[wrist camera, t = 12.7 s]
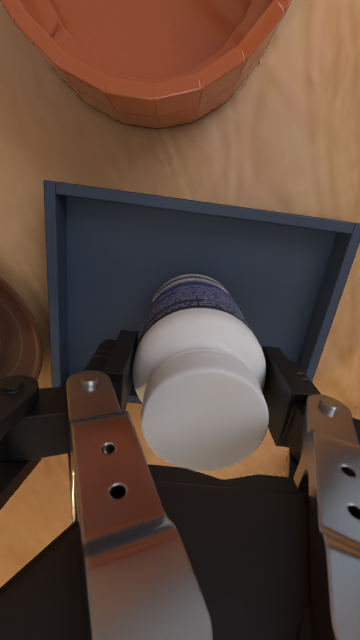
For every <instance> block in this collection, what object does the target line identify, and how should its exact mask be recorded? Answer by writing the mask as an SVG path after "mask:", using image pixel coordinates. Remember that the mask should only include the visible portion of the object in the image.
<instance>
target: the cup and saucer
mask: <svg viewBox="0 0 360 640" xmlns="http://www.w3.org/2000/svg"><path fill="white" fill-rule="evenodd" d="M41 366H42V341H41V337H40V333H39V330H38V327H37V324H36V322H35V319H34V317H33V315H32V313H31V312H30V310H29V308H28V307H27V305H26V304H25V302H24V301H23V299H22V298H21V297H20V296H19V294H18V293H17V292H16V291H15V290H14V289H13V288H12V287H11V286H10V285H9V284H8V283H7V282H6V281H5V280H4V279H3V278H2V277H0V379H1V378H4V377H7V376H13V375H26V376H30V377H33V378H35V379H36V380H37V379H38V376H39V374H40V370H41Z"/></svg>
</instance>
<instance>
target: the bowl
mask: <svg viewBox="0 0 360 640" xmlns="http://www.w3.org/2000/svg"><path fill="white" fill-rule="evenodd" d="M1 2H2V4H3V6H4V7H5V9H6V11H7V12H8V14H9V16H10V18H11V19H12V21H13V22H14V23H15V25H16V26H17V27H18V28H19V30H20V31H21V32H22V33H23V34H24V35H25V36H26V38H27V39H28V40H29V41H30V42H31V43H32V44H33V46H34V47H35V48H36V49H37V50H38V51H39V52H40V54H41V55H42V56H43V57H44V58H45V59H46V60H47V62H48V63H49V64H50V65H51V66H52V67H53V68H54V70H55V71H56V72H57V73H58V74H59V75H60V76H61V77H62V78H63V79H64V80H65V81H66V82H67V83H68V84H69V85H70V86H71V87H72V88H73V89H74V90H75V91H76V92H77V93H78V94H79V96H80V97H81V98H82V99H83V100H84V101H85V102H86V103H87V104H89V105H90V106H92V107H94V108H96V109H98V110H100V111H101V112H103V113H105V114H107V115H109V116H111V117H113V118H114V119H116V120H118V121H120V122H122V123H123V122H124V123H126V124H132V125H139V126H146V127H152V128H165V127H169V126H174V125H178V124H183V123H187V122H192V121H195V120H198V119H199V118H201V117H203V116H204V115H206V114H207V113H209V112H210V111H212V110H213V109H215V108H217V107H218V106H220V105H221V104H223V103H224V102H226V101H227V100H229V98H231V96H232V95H233V94H234V93H235V92H236V90H237V89H238V88H239V87H240V86H241V84H242V83H243V82H244V81H245V80H246V78H247V77H248V76H249V75H250V73H251V72H252V71H253V70H254V69H255V67H256V66H257V64H258V63H259V61H260V59H261V58H262V56H263V54H264V52H265V50H266V48H267V46H268V45H269V43H270V41H271V39H272V37H273V35H274V33H275V32H276V30H277V28H278V26H279V24H280V22H281V20H282V19H283V17H284V15H285V13H286V11H287V9H288V7H289V5H290V3H291V0H1Z"/></svg>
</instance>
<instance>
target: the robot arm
mask: <svg viewBox="0 0 360 640" xmlns="http://www.w3.org/2000/svg"><path fill="white" fill-rule="evenodd" d="M137 346H138V331H129V330H121V331H120V334H119V336H118V338H117V340H112V339H107V340H105V341H104V342H102V343H100V344H99V346H98V348H97V349H96V351H95V353H94V354H93V356H92V358H91V359H90V361H89V363H88V364H87V366H86V368H85V370H84V371H81V372H77V373H75V374H73V375H71V376H70V377H69V378H68V379H67V381H66V385H65V386H61V387H54V388H43V389H39V386H38V381H37V380H36V379H35V378H33V377H30V376H26V375H13V376H7V377H4V378H1V379H0V510H1V508H2V507H3V506H4V505H5V504H6V502H7V501H8V500H9V499H10V497H11V496H12V495H13V494H14V492H15V491H16V490H17V489H18V488H19V486H20V485H21V484H22V483H23V481H24V480H25V479H26V478H27V476H28V475H29V474H30V473H31V472H32V470H33V469H34V468H35V467H36V465H37V464H38V463H39V461H40V460H41V458H43V457H49V456H55V455H60V454H66V453H68V465H69V479H70V494H71V513H72V524H71V525H70V526H69V527H68V528H67V529H66V530H64V531H63V532H62V533H61V534H60V535H59V536H58V537H57V538H56V539H54V540H53V541H52V542H51V543H50V544H49V545H48V546H47V547H45V548H44V549H43V550H42V551H41V552H40V553H39V554H38V555H37V556H35V557H34V558H33V559H32V560H31V561H30V562H29V563H28V564H26V565H25V566H24V567H23V568H22V569H21V570H20V571H19V572H17V573H16V574H15V575H14V576H13V577H12V578H11V579H10V580H9V581H7V582H6V583H5V584H4V585H3V586H2V587H1V588H0V640H360V420H358V419H355V418H352V415H351V412H350V410H349V409H348V408H347V407H346V406H345V405H344V404H343V403H341V402H339V401H338V400H336V399H334V398H332V397H329V396H326V395H321V393H320V392H319V391H318V390H317V388H316V387H315V386H314V384H313V383H312V382H311V380H309V378H308V377H307V375H306V374H305V373H304V371H303V370H302V369H301V368H300V366H299V365H297V364H296V363H294V362H293V361H291V360H289V359H287V357H286V356H285V355H284V353H283V352H282V351H281V349H280V348H277V347H268V346H261V348H262V351H263V354H264V357H265V362H266V379H265V384H264V388H263V391H262V394H263V396H264V399H265V401H266V404H267V408H268V413H269V423H268V428H269V430H270V433H271V435H272V438H273V440H274V443H275V445H276V446H283V447H289V449H290V450H289V452H288V455H287V459H286V470H285V477H279V476H268V475H253V476H246V477H240V478H233V479H227V480H222V479H218V478H215V477H212V476H209V475H205V474H202V473H199V472H196V471H193V470H190V469H187V468H181V467H170V466H159V465H148V464H147V462H146V459H145V456H144V453H143V451H142V448H141V445H140V442H139V440H138V437H137V434H136V431H135V429H134V426H133V423H132V420H131V417H130V415H129V413H128V411H125V409H126V405H127V401H128V398H129V394H130V390H131V387H132V383H133V377H132V368H133V361H134V356H135V352H136V349H137Z"/></svg>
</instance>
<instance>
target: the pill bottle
mask: <svg viewBox="0 0 360 640" xmlns="http://www.w3.org/2000/svg"><path fill="white" fill-rule="evenodd" d="M132 377H133V383H134V387H135V390H136V393H137V395H138V397H139V399H140V401H141V402H142V404H143V406H142V412H141V429H142V432H143V436H144V439H145V441H146V443H147V444H148V446H149V447H150V449H151V450H152V451H153V452H154V453H155V454H156V455H157V456H158V457H160V458H161V459H162V460H164V461H165V462H167V463H169V464H171V465H173V466H176V467H181V468H187V469H190V470H193V471H215V470H220V469H223V468H228V467H230V466H233V465H235V464H237V463H239V462H241V461H242V460H244V459H245V458H247V457H248V456H250V455H251V454H252V453H253V452H254V451H255V450H256V449H257V448H258V446H259V445H260V444H261V442H262V440H263V439H264V437H265V435H266V432H267V428H268V423H269V413H268V408H267V404H266V401H265V399H264V396H263V394H262V391H263V388H264V384H265V379H266V362H265V357H264V354H263V351H262V348H261V346H260V344H259V342H258V341H257V339H256V337H255V335H254V334H253V332H252V330H251V329H250V327H249V326H248V324H247V322H246V321H245V319H244V317H243V315H242V314H241V312H240V310H239V309H238V307H237V305H236V304H235V302H234V300H233V298H232V297H231V295H230V294H229V292H228V291H227V290H226V289H225V288H224V287H223V286H222V285H221V284H220V283H219V282H217V281H215V280H214V279H212V278H210V277H207V276H203V275H198V274H188V275H182V276H178V277H176V278H173V279H171V280H170V281H168V282H167V283H165V284H164V285H163V286H162V287H161V288H160V289H159V290H158V291H157V292H156V294H155V295H154V297H153V299H152V301H151V303H150V306H149V309H148V313H147V316H146V319H145V322H144V325H143V329H142V333H141V336H140V339H139V342H138V346H137V349H136V352H135V356H134V361H133V368H132Z"/></svg>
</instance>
